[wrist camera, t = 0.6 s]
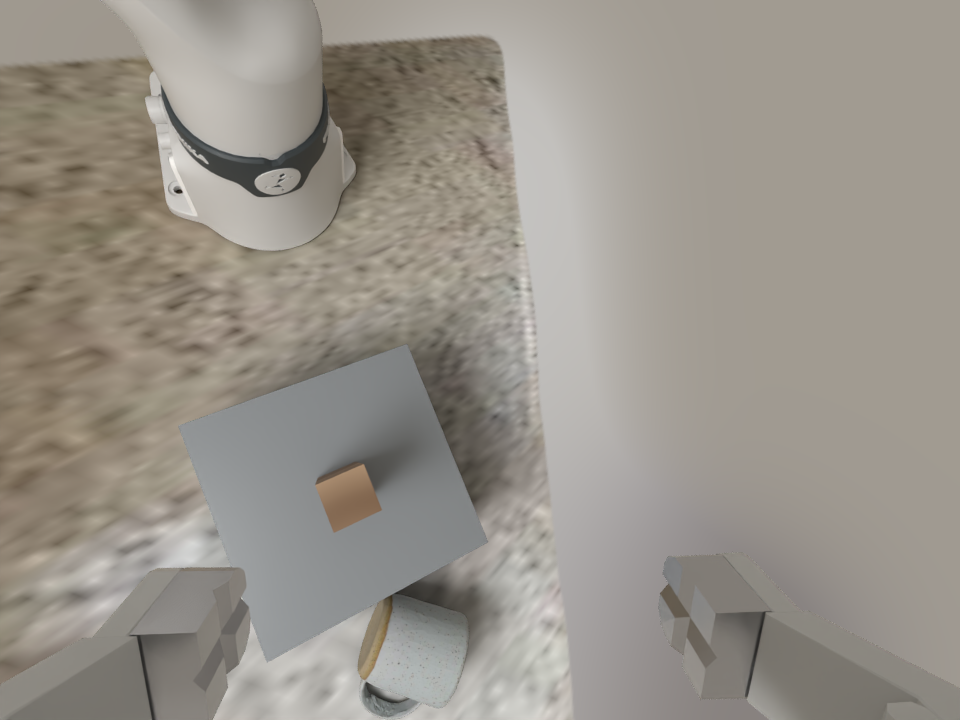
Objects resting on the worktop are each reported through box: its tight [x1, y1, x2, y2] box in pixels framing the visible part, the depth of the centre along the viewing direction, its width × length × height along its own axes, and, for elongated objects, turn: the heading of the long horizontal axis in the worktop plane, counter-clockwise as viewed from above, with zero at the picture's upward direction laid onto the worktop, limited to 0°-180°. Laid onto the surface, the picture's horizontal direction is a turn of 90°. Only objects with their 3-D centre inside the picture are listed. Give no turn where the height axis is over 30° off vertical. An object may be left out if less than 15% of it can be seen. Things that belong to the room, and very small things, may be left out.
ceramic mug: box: [358, 594, 469, 719], centre depth 43 cm, size 11×8×8 cm
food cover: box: [178, 344, 488, 662], centre depth 38 cm, size 18×18×20 cm
